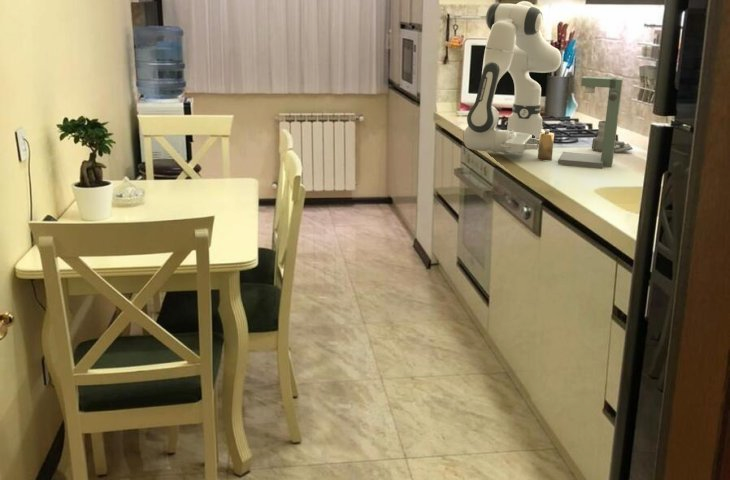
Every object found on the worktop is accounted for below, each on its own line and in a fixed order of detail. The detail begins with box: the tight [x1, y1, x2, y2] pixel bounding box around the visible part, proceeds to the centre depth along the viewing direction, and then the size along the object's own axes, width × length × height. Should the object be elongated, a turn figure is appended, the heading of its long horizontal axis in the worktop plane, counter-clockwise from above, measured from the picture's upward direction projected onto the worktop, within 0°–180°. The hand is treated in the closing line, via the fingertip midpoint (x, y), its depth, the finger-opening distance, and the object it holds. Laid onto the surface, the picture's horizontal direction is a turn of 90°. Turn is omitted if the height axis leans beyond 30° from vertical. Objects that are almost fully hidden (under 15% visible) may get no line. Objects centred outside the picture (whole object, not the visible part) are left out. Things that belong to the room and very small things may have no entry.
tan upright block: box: [537, 128, 555, 161], centre depth 288 cm, size 5×5×12 cm
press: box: [557, 75, 624, 169], centre depth 277 cm, size 20×19×32 cm
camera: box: [591, 120, 634, 154], centre depth 303 cm, size 9×12×15 cm
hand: (539, 144), depth 289 cm, fingers open, 8 cm apart
